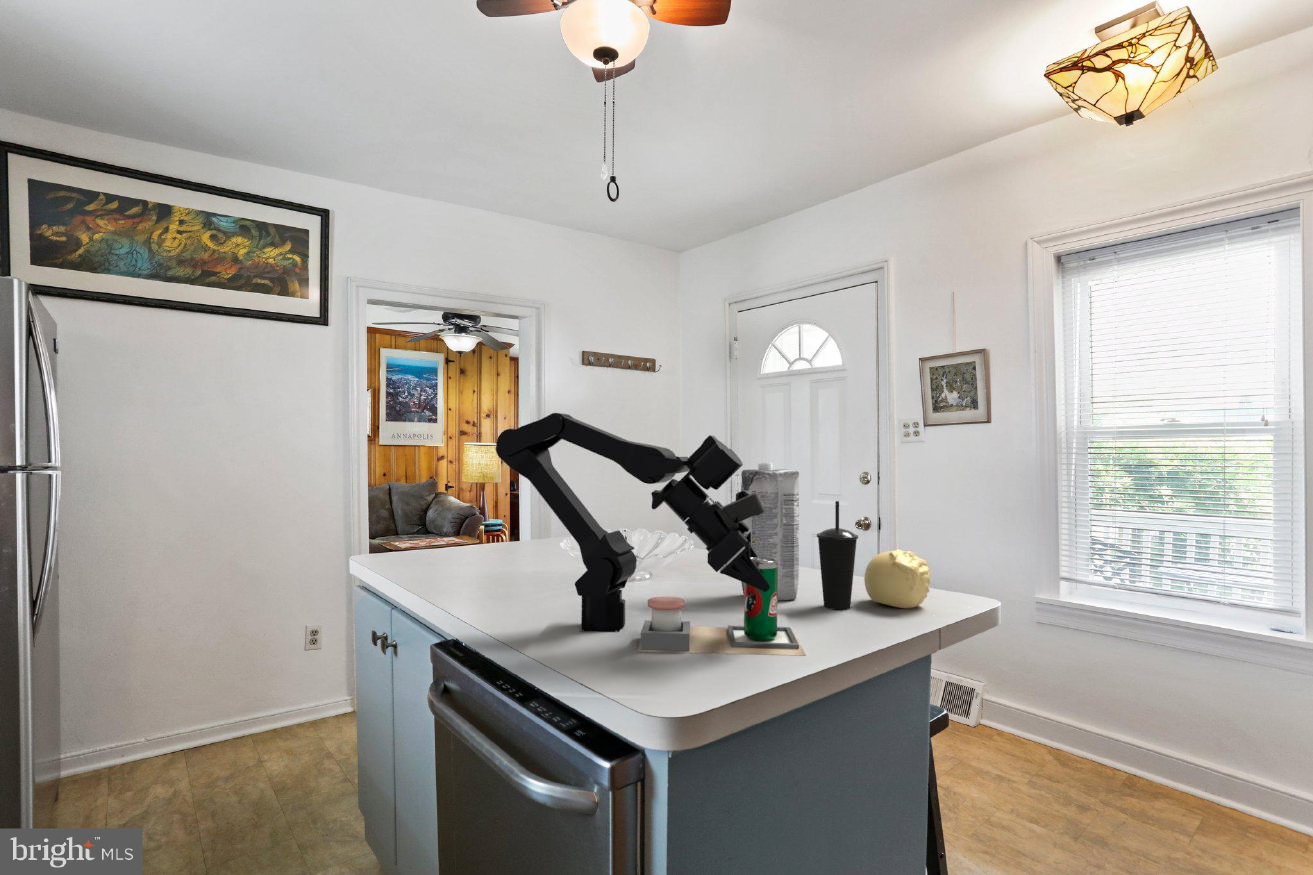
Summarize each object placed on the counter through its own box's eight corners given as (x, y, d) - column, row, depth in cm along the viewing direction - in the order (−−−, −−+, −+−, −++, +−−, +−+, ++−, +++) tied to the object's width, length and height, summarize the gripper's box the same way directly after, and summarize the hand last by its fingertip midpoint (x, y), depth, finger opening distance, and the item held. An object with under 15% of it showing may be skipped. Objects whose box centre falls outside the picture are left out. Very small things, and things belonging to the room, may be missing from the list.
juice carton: (803, 600, 131) (804, 463, 132) (754, 603, 128) (755, 463, 129) (782, 591, 140) (783, 462, 140) (736, 594, 137) (736, 462, 137)
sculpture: (923, 615, 121) (923, 555, 121) (857, 606, 127) (857, 549, 127) (936, 603, 130) (936, 547, 130) (873, 595, 137) (873, 543, 137)
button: (646, 634, 97) (646, 604, 97) (649, 624, 102) (649, 596, 103) (684, 635, 96) (684, 605, 97) (685, 625, 102) (685, 596, 102)
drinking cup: (843, 613, 121) (843, 503, 121) (808, 606, 127) (808, 500, 127) (866, 607, 126) (866, 501, 126) (831, 600, 132) (831, 499, 132)
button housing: (640, 650, 96) (640, 632, 96) (644, 636, 103) (644, 620, 103) (689, 651, 96) (689, 633, 96) (689, 637, 103) (690, 621, 103)
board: (636, 655, 96) (636, 646, 96) (644, 629, 110) (644, 621, 110) (806, 659, 94) (806, 651, 94) (792, 632, 108) (792, 625, 108)
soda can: (776, 643, 100) (777, 562, 100) (742, 641, 101) (743, 561, 101) (777, 634, 105) (778, 557, 105) (745, 631, 106) (746, 556, 106)
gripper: (731, 476, 94) (810, 557, 93) (735, 472, 113) (802, 539, 111) (675, 530, 95) (753, 611, 94) (689, 517, 114) (753, 585, 112)
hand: (767, 583), depth 103 cm, fingers open, 9 cm apart
